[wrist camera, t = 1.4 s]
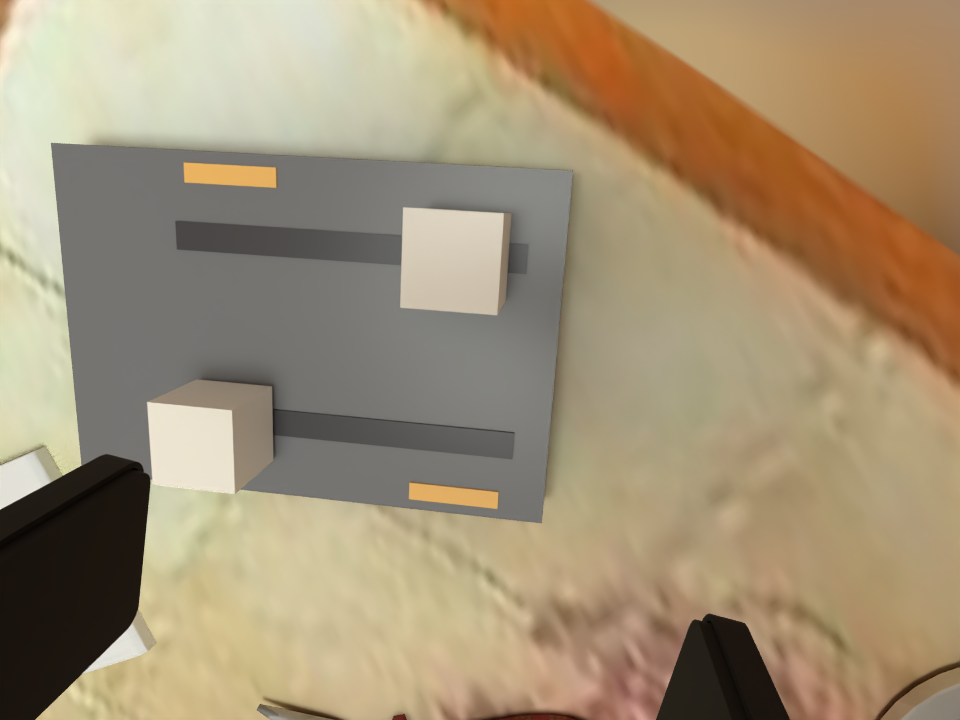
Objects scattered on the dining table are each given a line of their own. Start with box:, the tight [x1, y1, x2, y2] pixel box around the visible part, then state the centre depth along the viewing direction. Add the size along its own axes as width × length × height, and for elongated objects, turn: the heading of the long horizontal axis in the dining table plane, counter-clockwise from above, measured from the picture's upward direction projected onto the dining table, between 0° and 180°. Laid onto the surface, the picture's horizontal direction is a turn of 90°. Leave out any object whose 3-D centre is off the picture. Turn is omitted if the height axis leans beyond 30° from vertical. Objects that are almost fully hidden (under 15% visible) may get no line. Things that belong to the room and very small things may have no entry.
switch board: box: [51, 143, 573, 523], centre depth 29 cm, size 22×15×3 cm
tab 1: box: [147, 379, 273, 494], centre depth 27 cm, size 4×4×4 cm
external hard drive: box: [0, 446, 156, 674], centre depth 35 cm, size 2×8×12 cm
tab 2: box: [400, 207, 512, 315], centre depth 24 cm, size 4×4×4 cm
